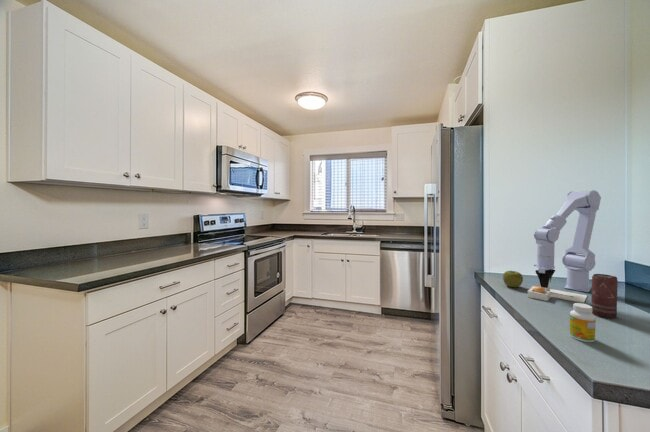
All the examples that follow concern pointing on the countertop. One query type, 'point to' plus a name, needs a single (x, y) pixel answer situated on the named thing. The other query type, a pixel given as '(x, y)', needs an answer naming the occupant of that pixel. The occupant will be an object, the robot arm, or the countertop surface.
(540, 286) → the marker
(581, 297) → the paper
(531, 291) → the button housing
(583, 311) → the supplement bottle
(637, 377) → the countertop surface
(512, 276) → the apple
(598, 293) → the can
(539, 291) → the button
